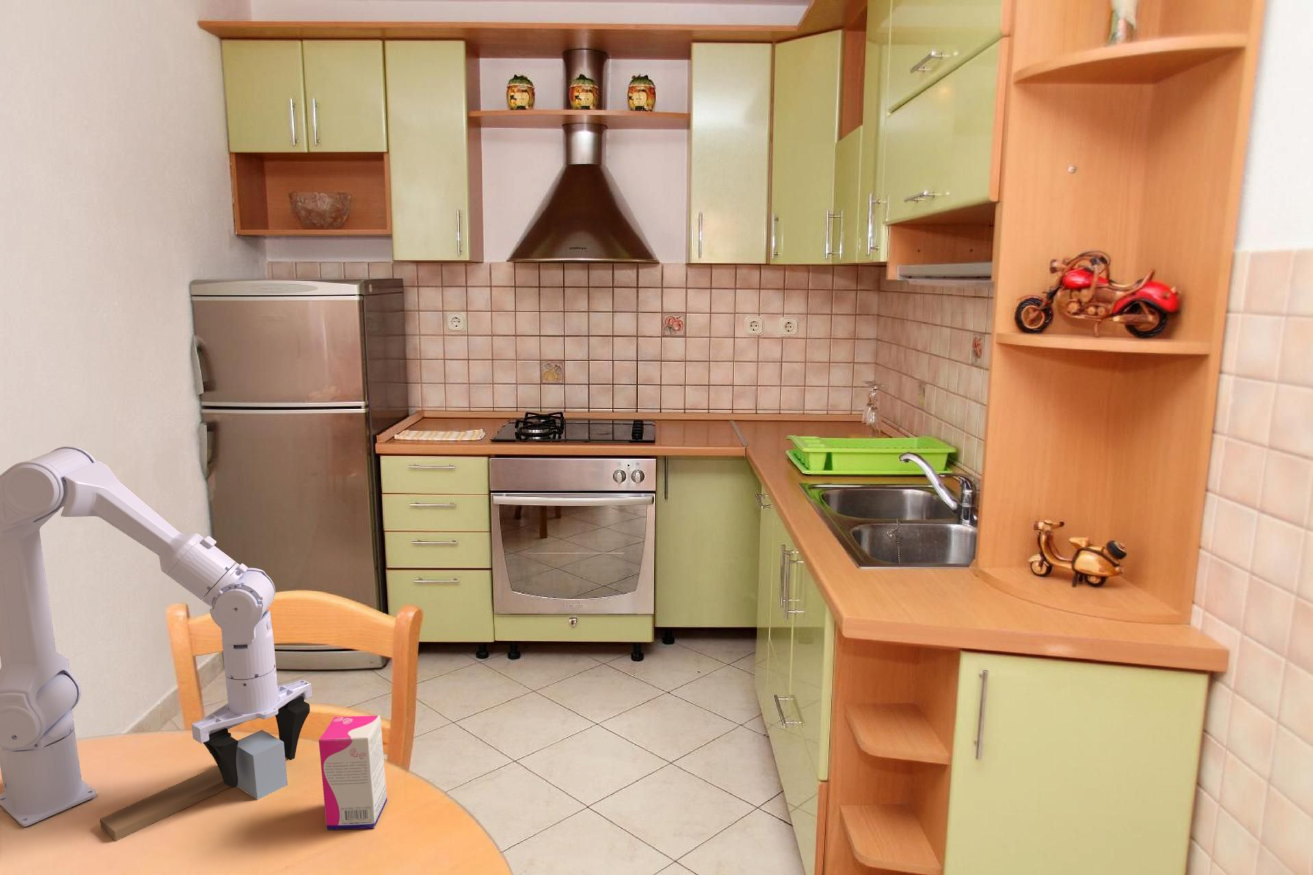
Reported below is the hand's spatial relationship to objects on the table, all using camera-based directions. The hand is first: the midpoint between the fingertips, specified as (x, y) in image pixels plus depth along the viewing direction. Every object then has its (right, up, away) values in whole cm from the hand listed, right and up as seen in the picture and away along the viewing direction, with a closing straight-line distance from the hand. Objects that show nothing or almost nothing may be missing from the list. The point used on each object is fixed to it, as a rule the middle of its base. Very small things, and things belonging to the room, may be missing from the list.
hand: (260, 769), depth 113 cm
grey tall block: (-2, -2, +2) cm, 4 cm away
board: (-7, -2, -1) cm, 7 cm away
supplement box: (+14, -3, -6) cm, 16 cm away
